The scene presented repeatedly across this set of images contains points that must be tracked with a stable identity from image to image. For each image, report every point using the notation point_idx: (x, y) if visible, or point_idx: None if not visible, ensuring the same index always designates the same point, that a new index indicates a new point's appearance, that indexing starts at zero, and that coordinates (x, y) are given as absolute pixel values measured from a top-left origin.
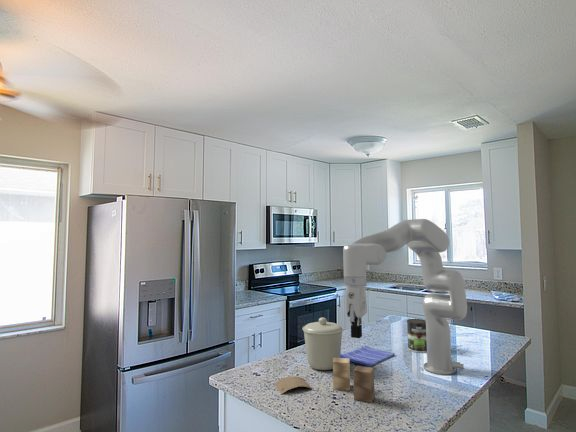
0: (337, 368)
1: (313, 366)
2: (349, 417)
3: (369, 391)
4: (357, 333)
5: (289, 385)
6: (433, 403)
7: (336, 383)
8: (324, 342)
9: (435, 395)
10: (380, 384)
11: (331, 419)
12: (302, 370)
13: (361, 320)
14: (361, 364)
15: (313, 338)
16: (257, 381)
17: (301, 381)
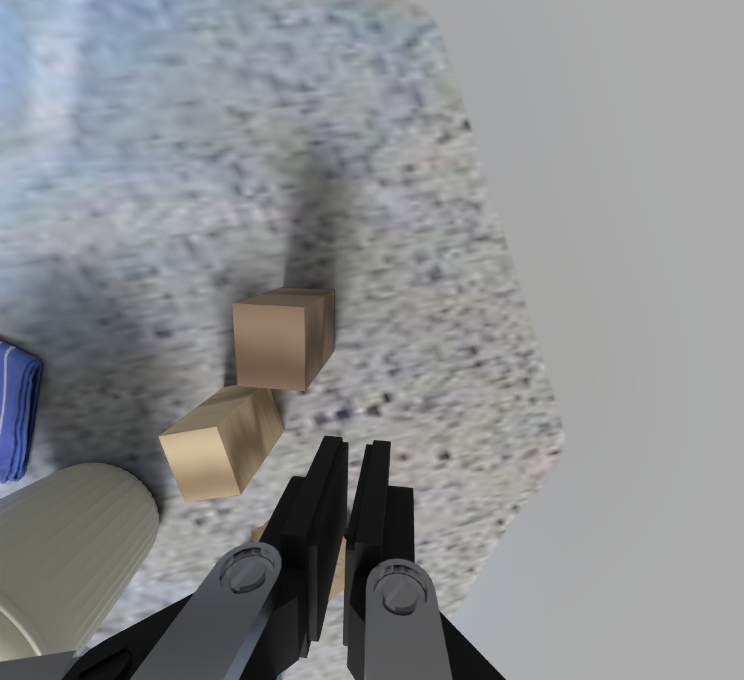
0: (247, 459)
1: (156, 535)
2: (465, 339)
3: (326, 301)
4: (409, 499)
5: (344, 563)
6: (238, 51)
7: (273, 432)
8: (68, 585)
9: (159, 50)
10: (165, 285)
11: (497, 388)
12: (184, 555)
13: (207, 597)
14: (31, 384)
15: (72, 647)
16: (327, 644)
17: None
